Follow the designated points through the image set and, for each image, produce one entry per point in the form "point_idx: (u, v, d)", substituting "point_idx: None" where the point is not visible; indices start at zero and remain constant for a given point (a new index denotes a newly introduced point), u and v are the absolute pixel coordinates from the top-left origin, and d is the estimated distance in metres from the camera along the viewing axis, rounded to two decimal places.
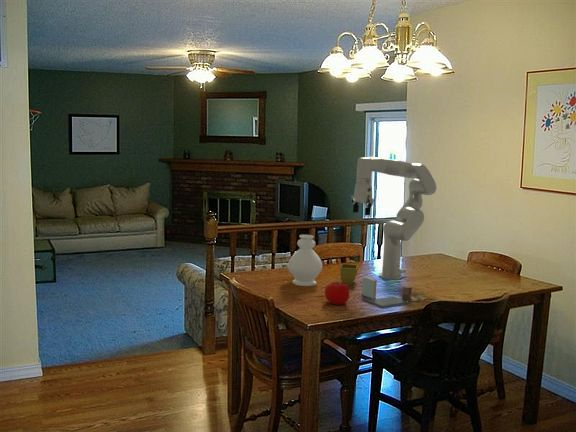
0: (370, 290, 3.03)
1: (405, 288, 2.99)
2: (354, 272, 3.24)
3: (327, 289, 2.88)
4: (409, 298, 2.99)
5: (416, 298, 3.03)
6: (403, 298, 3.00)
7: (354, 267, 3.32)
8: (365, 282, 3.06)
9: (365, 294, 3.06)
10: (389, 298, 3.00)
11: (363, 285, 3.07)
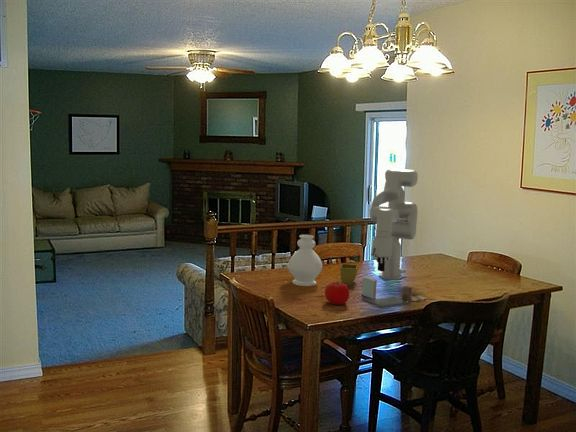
0: (370, 290, 3.03)
1: (405, 288, 2.99)
2: (354, 272, 3.24)
3: (327, 289, 2.88)
4: (409, 298, 2.99)
5: (416, 298, 3.03)
6: (403, 298, 3.00)
7: (354, 267, 3.32)
8: (365, 282, 3.06)
9: (365, 294, 3.06)
10: (389, 298, 3.00)
11: (363, 285, 3.07)
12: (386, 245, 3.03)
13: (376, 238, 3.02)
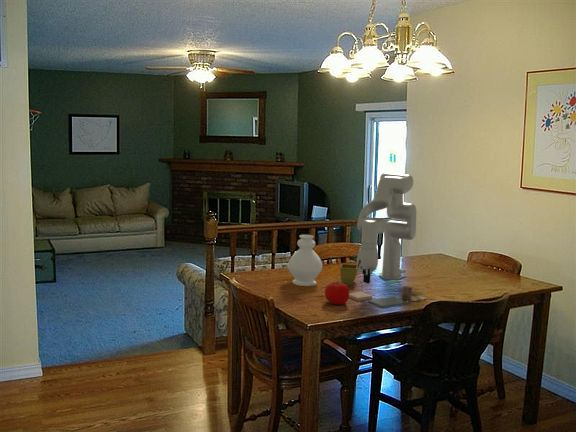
0: None
1: (405, 288, 2.99)
2: (354, 272, 3.24)
3: (327, 289, 2.88)
4: (409, 298, 2.99)
5: (416, 298, 3.03)
6: (403, 298, 3.00)
7: (354, 267, 3.32)
8: None
9: None
10: (389, 298, 3.00)
11: None
12: (371, 257, 3.00)
13: (361, 250, 2.99)
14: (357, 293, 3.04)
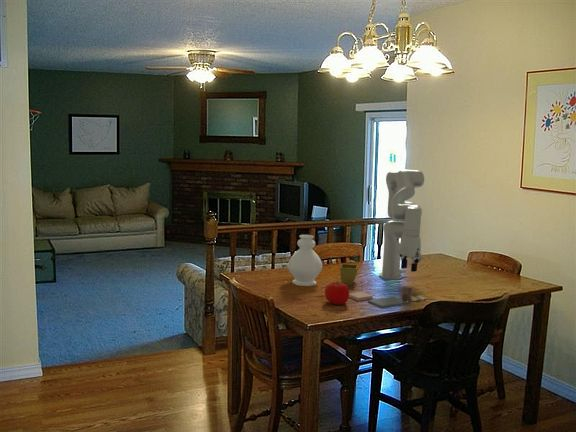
0: None
1: (405, 288, 2.99)
2: (354, 272, 3.24)
3: (327, 289, 2.88)
4: (409, 298, 2.99)
5: (416, 298, 3.03)
6: (403, 298, 3.00)
7: (354, 267, 3.32)
8: None
9: None
10: (389, 298, 3.00)
11: None
12: None
13: (418, 238, 2.92)
14: (357, 293, 3.04)
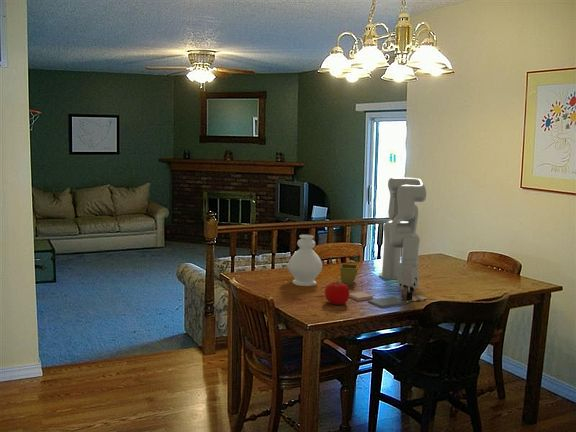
0: None
1: (405, 288, 2.99)
2: (354, 272, 3.24)
3: (327, 289, 2.88)
4: None
5: (416, 298, 3.03)
6: (403, 298, 3.00)
7: (354, 267, 3.32)
8: None
9: None
10: (389, 298, 3.00)
11: None
12: None
13: (416, 267, 2.94)
14: (358, 293, 3.04)
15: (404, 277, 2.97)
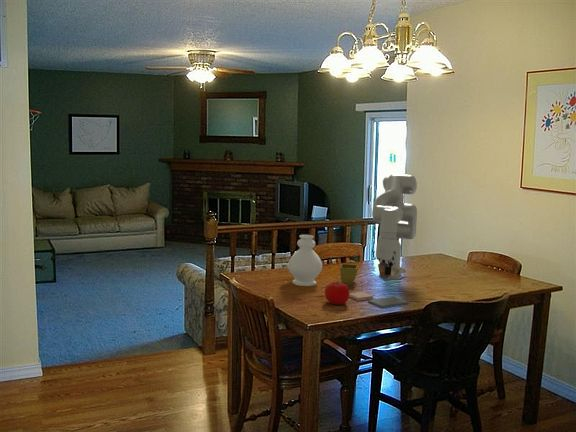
0: None
1: (380, 266, 2.89)
2: (354, 272, 3.24)
3: (327, 289, 2.88)
4: None
5: (394, 271, 2.93)
6: (381, 276, 2.91)
7: (354, 267, 3.32)
8: None
9: None
10: (389, 298, 3.00)
11: None
12: None
13: (394, 241, 2.86)
14: (358, 293, 3.04)
15: (382, 251, 2.88)
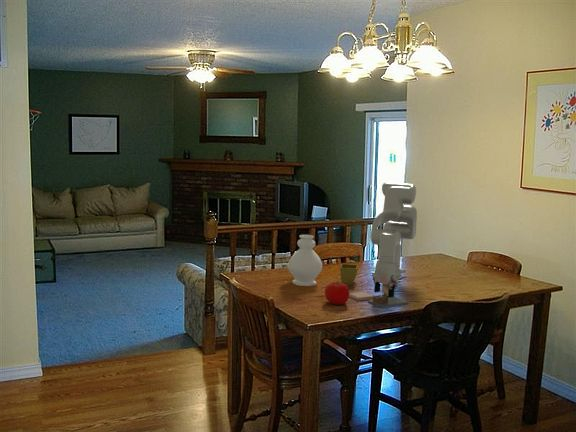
0: None
1: None
2: (354, 272, 3.24)
3: (327, 289, 2.88)
4: (385, 298, 2.92)
5: (387, 287, 2.92)
6: None
7: (354, 267, 3.32)
8: None
9: None
10: (389, 298, 3.00)
11: None
12: None
13: (392, 265, 2.87)
14: (359, 293, 3.05)
15: (381, 275, 2.90)
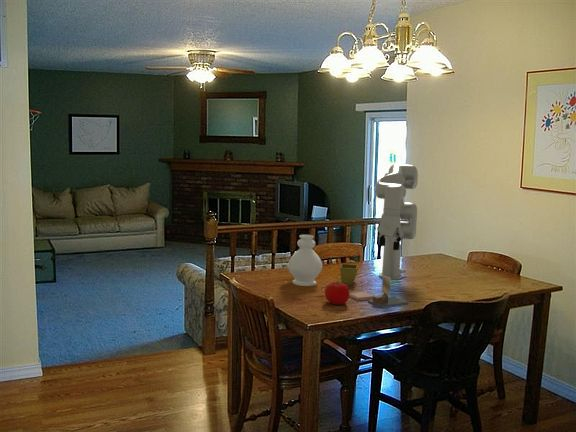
0: None
1: None
2: (354, 272, 3.24)
3: (327, 289, 2.88)
4: (385, 298, 2.92)
5: (387, 287, 2.92)
6: None
7: (354, 267, 3.32)
8: None
9: None
10: (389, 298, 3.00)
11: None
12: None
13: (398, 217, 2.87)
14: (359, 293, 3.05)
15: (386, 228, 2.90)
